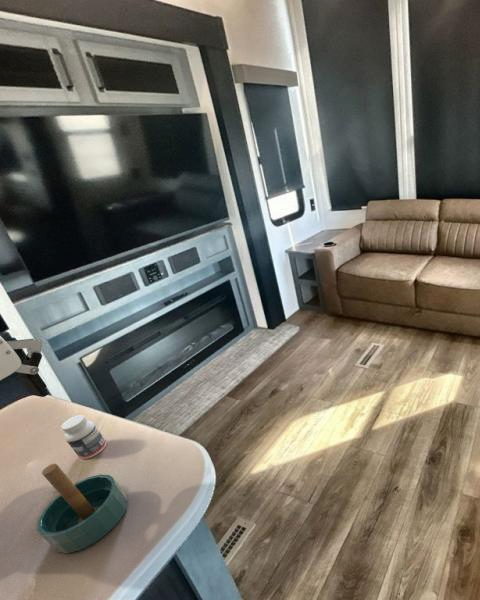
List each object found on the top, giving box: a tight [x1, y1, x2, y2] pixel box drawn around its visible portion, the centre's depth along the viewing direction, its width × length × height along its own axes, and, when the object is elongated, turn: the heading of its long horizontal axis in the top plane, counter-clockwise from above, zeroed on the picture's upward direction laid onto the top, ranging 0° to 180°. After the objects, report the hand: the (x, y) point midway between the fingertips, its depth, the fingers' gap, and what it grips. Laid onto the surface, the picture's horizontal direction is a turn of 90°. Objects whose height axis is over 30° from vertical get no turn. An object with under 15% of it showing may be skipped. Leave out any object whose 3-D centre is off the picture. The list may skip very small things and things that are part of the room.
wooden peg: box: [41, 463, 100, 524], centre depth 63 cm, size 4×4×14 cm
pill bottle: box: [61, 414, 107, 460], centre depth 80 cm, size 5×5×9 cm
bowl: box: [36, 473, 129, 554], centre depth 65 cm, size 11×11×6 cm
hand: (4, 417), depth 54 cm, fingers open, 9 cm apart
